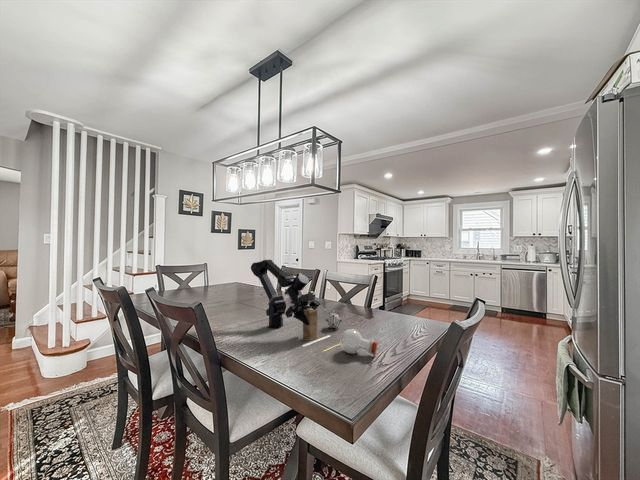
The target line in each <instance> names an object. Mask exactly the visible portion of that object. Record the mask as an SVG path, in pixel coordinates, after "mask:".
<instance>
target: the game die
mask: <svg viewBox="0 0 640 480" xmlns="http://www.w3.org/2000/svg"><path fill="white" fill-rule="evenodd" d="M339 314H340V312H337V313H331V312H330V311H329V312H328V316H327V318H326V319H325V321H326V322H327V325H328V330H329V329H330V328H333V329H334V328H335V329H338V330H340V329H339V326H340V324H341V323H342V319H341V318H340V316H339Z"/></svg>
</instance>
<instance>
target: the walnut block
mask: <svg viewBox="0 0 640 480" xmlns="http://www.w3.org/2000/svg"><path fill="white" fill-rule="evenodd" d="M304 315H305V317H306V318H307V320H308V322H309V325H306V324H304V323H303V322H302V339H304V340H306V341H309V342H312V341H315V340H317V339H318V310H317V309H316V310H313V309H312V308H309V309H307V310H304Z"/></svg>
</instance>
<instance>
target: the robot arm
mask: <svg viewBox="0 0 640 480" xmlns="http://www.w3.org/2000/svg"><path fill="white" fill-rule="evenodd" d="M250 270H251V272H252V273H253V275H254V276H255V277H257V278H258V279H259V281H260V283H261V286H262V288H263V290H264V292H265V294H266V296H267V298H268V308H267V310H266V311H265V313H266V314H265V315H266V316H268V325H267V328H271V329H280V328H281V327H283V326H284V318H283V315H285V316H286V318H295V319H297V320H298V321H300V322H302V324H303V323H304V324H306V325H309V322H308V320H307V318H306V317H305V315H304V310H307V309H309V308H312V309H313V310H317V309H318V307H320V305H321V303H320V300H315V298H316V294H315V292H314V291H313V290H312V291H309V292H308V293H305V294H304V293H302V292H301V291H303V290H304V288H305V287H306V286H307V285H308V284H309V282H310V280H309V278H308V276H306V275H305V274H302V272H298V273H297V274H296V276H294V275H293V274H291V273H289V272H286V271H284V270H282V268H280V267H279V266H278V265H277V264H276V263H275V262H274V261H273V260H272V259H263V260H261V261H256V262H253V263H251V265H250ZM268 272H270V274H271V275H273V277H275V279H277V283H278V284H279V286H280V287H281V288H286V289H284V290H285V291H284V296H286V295H288V297H289V299H290V300H291V301H290V304H291V305H289V307H287V303H286V300H285V298H284V296H283V295H278V293H277V292H276V289H275V287H274V285H273V283H272V281H271V279H270V277H269V275H268ZM286 309H287V310H286Z"/></svg>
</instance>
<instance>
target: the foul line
mask: <svg viewBox="0 0 640 480" xmlns="http://www.w3.org/2000/svg"><path fill="white" fill-rule="evenodd" d="M330 337H331V335H329V334H328V335H326V336H323V337H321V338H317V339H314V340H311V341H309V342H308V343H304V344H302V345H301V346H302V347H303V348H305V347H307V346H309V345H313V344H315V343H318V342H319V341H323V340H325V339H327V338H330Z"/></svg>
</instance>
